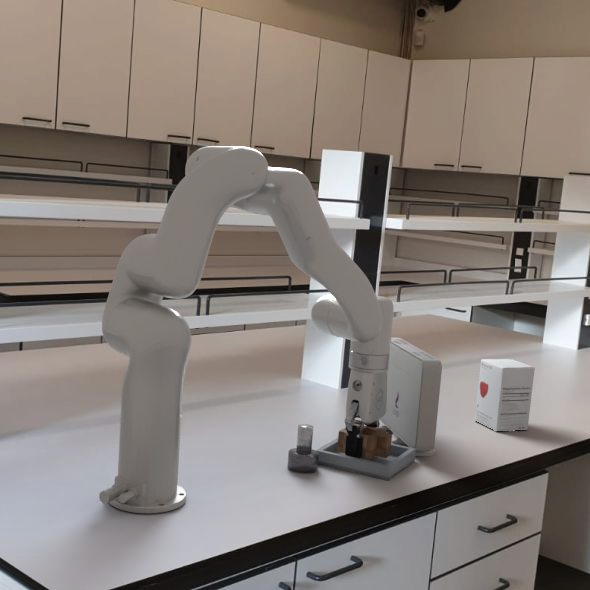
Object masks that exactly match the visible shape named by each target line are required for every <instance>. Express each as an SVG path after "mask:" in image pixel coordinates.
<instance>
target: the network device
mask: <svg viewBox="0 0 590 590" xmlns="http://www.w3.org/2000/svg"><path fill="white" fill-rule="evenodd" d="M442 370H443V366H442V362H441V360H440V359H439V358H437V357H435V356H433V355H431V354H429V353H428V352H426V351H424V350H423V349H421V348H419V347H417V346H415V345H413V344H412V343H410V342H408V340H407V341H406V340H405V339H403V338H401V337H391V344H390V355H389V366H388V371H387V406H386V414H385V415H384V416H383V417H382V418H380V419H379V422H380V423H382V424H383V425H379V429H384V430H387V431H391V432H392V434H391V435H392V441H391V444H396V445H407V447H410V448H415V449H416V452H415V457H429V456H430V457H431V456H434V455H436V449H435V443H436V435H437V422H438V412H439V404H440V403H439V401H440V395H441V394H440V392H441V391H440V390H441V383H442V382H441V381H442Z"/></svg>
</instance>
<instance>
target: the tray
mask: <svg viewBox="0 0 590 590" xmlns="http://www.w3.org/2000/svg"><path fill="white" fill-rule="evenodd" d="M337 447H338V437H337V438H336V439H334V440H331V441H330V442H327V444H324V445H322V446H320V447H319V448H317V449H314V450H315V451H317V452H318V453H319V459H318V465H321V466H325V467H329V468H333V469H338V470H342V471H345V472H346V471H347V472H350V473H355V474H359V475H363V476H366V477H371V478H376V479H381V480H385V481H391V480H392V479H393V478H395V477H396V476H397V475H398V474H400V473H401V472H402V471H405V469H407V468H408V467H409V466H410V465H412V464H413V463H414V462H415V461H416V456H415V452H416V451H417V450H416V449H415V448H410V447H409V446H404V445H402V444H391V453H390V456H388V457H387V458H382V457H378V456H375V457H374V458H372V459H368V458H364V457H361V458H355V457H350V456H346V455H345V453H341V452H337Z"/></svg>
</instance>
